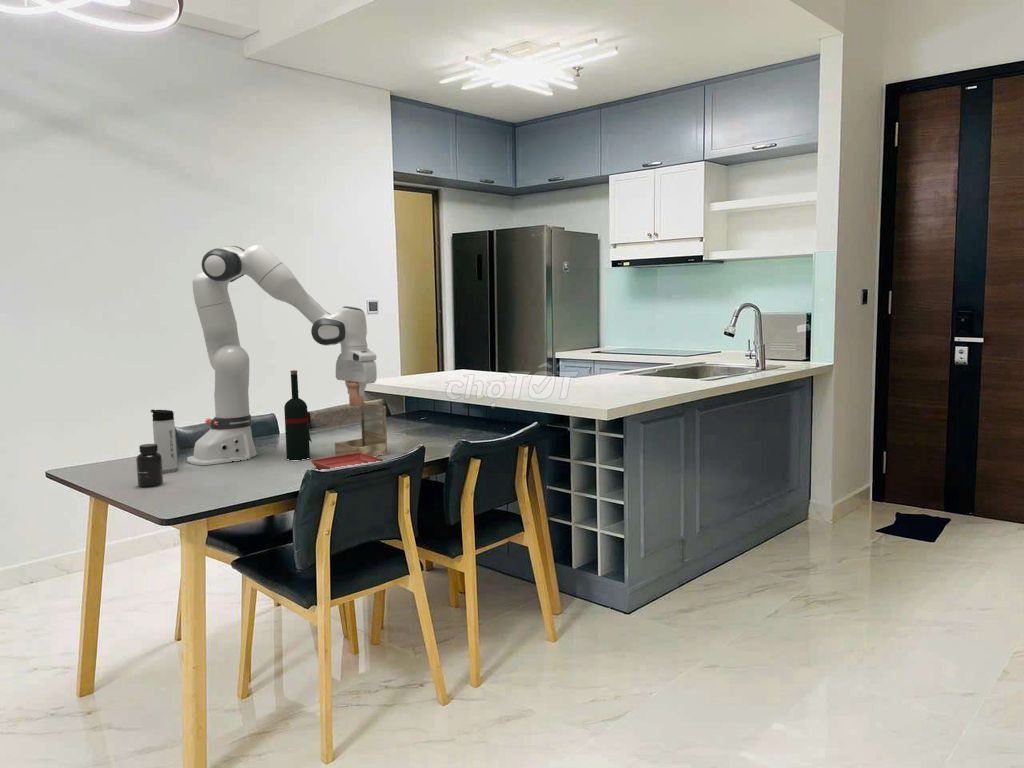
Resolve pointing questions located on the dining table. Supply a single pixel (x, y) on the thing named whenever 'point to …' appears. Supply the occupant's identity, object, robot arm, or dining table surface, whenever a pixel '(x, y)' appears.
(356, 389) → the terracotta pot
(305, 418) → the wine bottle
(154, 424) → the travel mug
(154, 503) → the dining table surface
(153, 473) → the supplement bottle
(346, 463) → the plant saucer
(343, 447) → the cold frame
